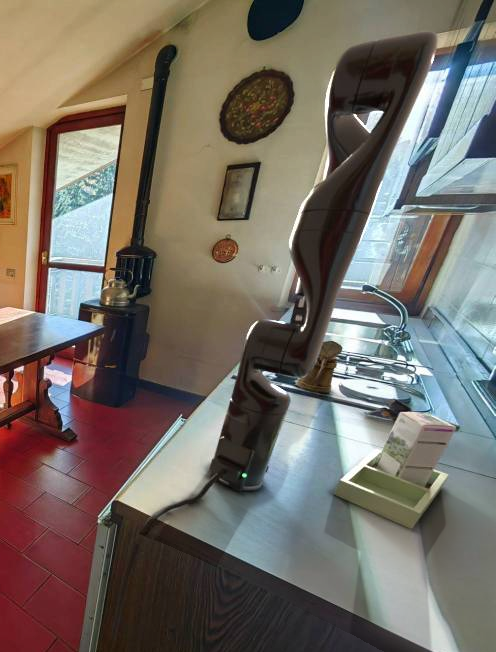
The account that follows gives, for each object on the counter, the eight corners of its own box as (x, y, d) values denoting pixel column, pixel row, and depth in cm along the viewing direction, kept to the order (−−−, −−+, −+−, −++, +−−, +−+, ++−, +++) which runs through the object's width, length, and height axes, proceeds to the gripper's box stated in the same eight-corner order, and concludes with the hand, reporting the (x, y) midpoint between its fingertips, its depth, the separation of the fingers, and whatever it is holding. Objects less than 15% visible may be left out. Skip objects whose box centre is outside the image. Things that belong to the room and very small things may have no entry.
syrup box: (424, 490, 78) (460, 426, 72) (391, 487, 79) (424, 424, 73) (401, 473, 83) (432, 413, 77) (370, 470, 84) (399, 410, 78)
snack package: (366, 406, 116) (360, 417, 108) (379, 388, 112) (375, 398, 105) (419, 427, 108) (417, 440, 101) (436, 408, 105) (435, 420, 98)
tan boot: (293, 391, 125) (313, 337, 118) (297, 380, 134) (315, 329, 127) (329, 399, 119) (351, 343, 112) (330, 387, 129) (351, 334, 122)
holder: (411, 529, 69) (420, 513, 67) (333, 494, 77) (339, 479, 76) (441, 488, 79) (449, 474, 78) (369, 462, 88) (375, 448, 87)
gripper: (330, 269, 80) (311, 348, 83) (352, 279, 88) (334, 350, 90) (287, 271, 86) (271, 344, 89) (311, 280, 94) (296, 346, 97)
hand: (303, 347), depth 90 cm, fingers open, 8 cm apart
